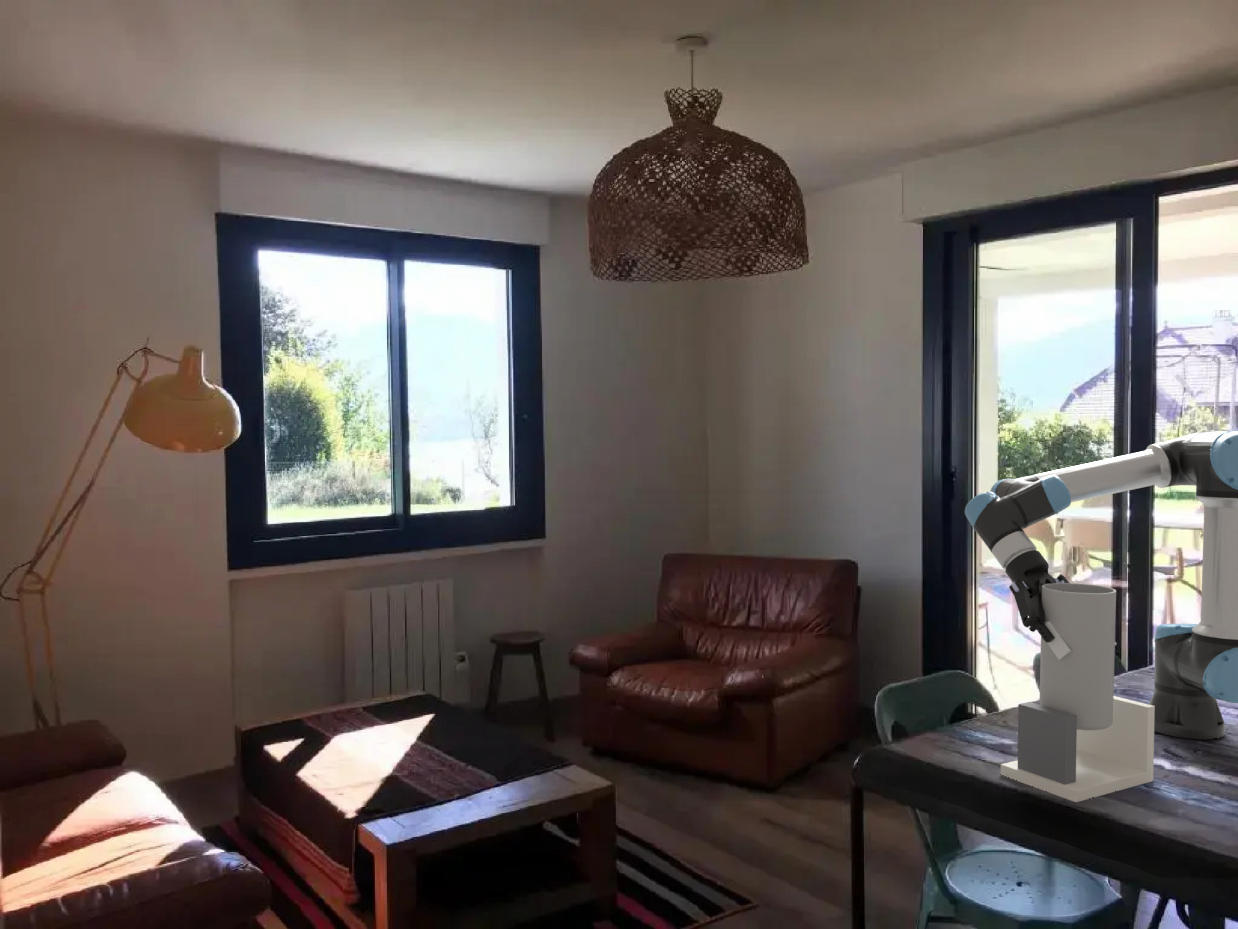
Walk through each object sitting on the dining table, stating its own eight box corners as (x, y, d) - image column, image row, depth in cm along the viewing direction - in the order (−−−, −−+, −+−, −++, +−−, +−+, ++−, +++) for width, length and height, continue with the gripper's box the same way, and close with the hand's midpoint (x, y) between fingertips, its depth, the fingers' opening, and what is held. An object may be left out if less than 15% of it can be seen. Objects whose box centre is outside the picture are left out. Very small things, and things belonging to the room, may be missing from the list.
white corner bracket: (1076, 756, 198) (1077, 686, 198) (1153, 781, 184) (1154, 706, 184) (1000, 774, 187) (1001, 701, 187) (1076, 802, 173) (1077, 722, 173)
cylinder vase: (1024, 716, 189) (1027, 585, 188) (1073, 709, 194) (1075, 581, 193) (1078, 735, 178) (1081, 595, 177) (1128, 727, 183) (1131, 591, 182)
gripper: (1050, 568, 205) (1116, 656, 192) (966, 576, 193) (1031, 670, 180) (1073, 545, 200) (1143, 633, 187) (989, 551, 188) (1057, 646, 175)
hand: (1088, 652), depth 183 cm, fingers closed on cylinder vase, 12 cm apart
